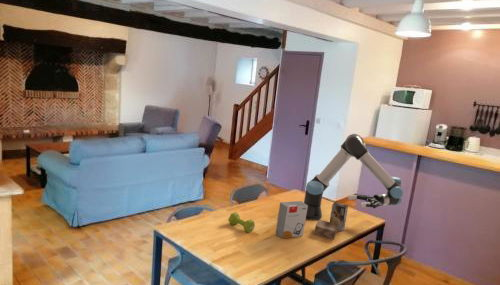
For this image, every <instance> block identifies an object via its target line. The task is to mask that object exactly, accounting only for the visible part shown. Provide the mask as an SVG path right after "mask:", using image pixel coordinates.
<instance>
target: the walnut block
mask: <svg viewBox="0 0 500 285" xmlns="http://www.w3.org/2000/svg"><path fill="white" fill-rule="evenodd" d="M337 225H338V224H335V223H331V222H330V221H327V220H322V219H318V220H317V222H316V224H315V226H314V233H313V235H314V236H317V237H321V238H324V239H329V240H332V241H334V240H335V238H336V234H337V231H338V230H337Z"/></svg>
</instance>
